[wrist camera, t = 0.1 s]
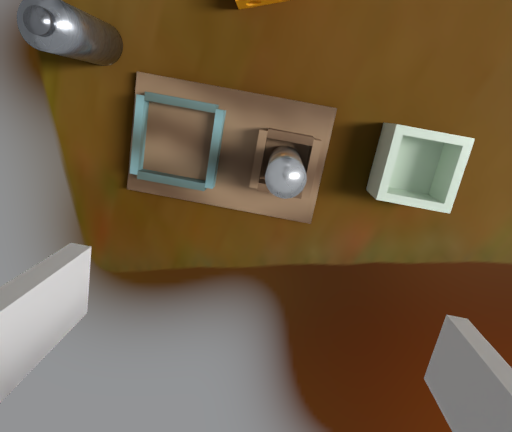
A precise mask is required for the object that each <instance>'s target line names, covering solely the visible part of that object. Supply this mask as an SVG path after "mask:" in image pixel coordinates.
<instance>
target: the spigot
mask: <svg viewBox="0 0 512 432" xmlns="http://www.w3.org/2000/svg"><path fill="white" fill-rule="evenodd" d="M17 24H18V28H19V31H20V33H21V35H22V37H23V38H24V39H25V41H26V42H27V43H28V44H29V45H31V46H32V47H33V48H35V49H38V50H41V51H45V52H49V53H53V54H57V55H61V56H65V57H69V58H74V59H78V60H82V61H86V62H90V63H94V64H98V65H103V66H107V65H111V64H113V63H115V62H116V61H117V60H118V59H119V58H120V56H121V54H122V50H123V42H122V38H121V36H120V34H119V32H118V31H117V30H116V28H114V27H113V26H112V25H110V24H108V23H106V22H104V21H102V20H100V19H98V18H96V17H94V16H92V15H90V14H88V13H86V12H84V11H82V10H80V9H78V8H76V7H74V6H72V5H70V4H68V3H65V2H63V1H61V0H23V1H22V2H21V3H20V5H19V8H18V12H17Z"/></svg>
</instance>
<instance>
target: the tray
mask: <svg viewBox="0 0 512 432" xmlns="http://www.w3.org/2000/svg"><path fill="white" fill-rule="evenodd" d="M474 140H475V139H474V138H468V137H463V136H458V135H452V134H447V133H441V132H436V131H430V130H425V129H420V128H414V127H409V126H403V125H398V124H391V123H383V127H382V130H381V134H380V138H379V142H378V146H377V149H376V153H375V157H374V161H373V165H372V168H371V172H370V176H369V180H368V184H367V187H366V190H367V191H368V192H369V193H370V194H371V195H372V196H373V197H374V198H375V199H376V200H381V201H386V202H391V203H397V204H402V205H407V206H413V207H418V208H423V209H429V210H434V211H439V212H445V213H450V212H451V209H452V206H453V203H454V200H455V197H456V194H457V191H458V188H459V185H460V182H461V179H462V176H463V173H464V170H465V167H466V164H467V161H468V158H469V155H470V152H471V149H472V146H473V143H474Z"/></svg>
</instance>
